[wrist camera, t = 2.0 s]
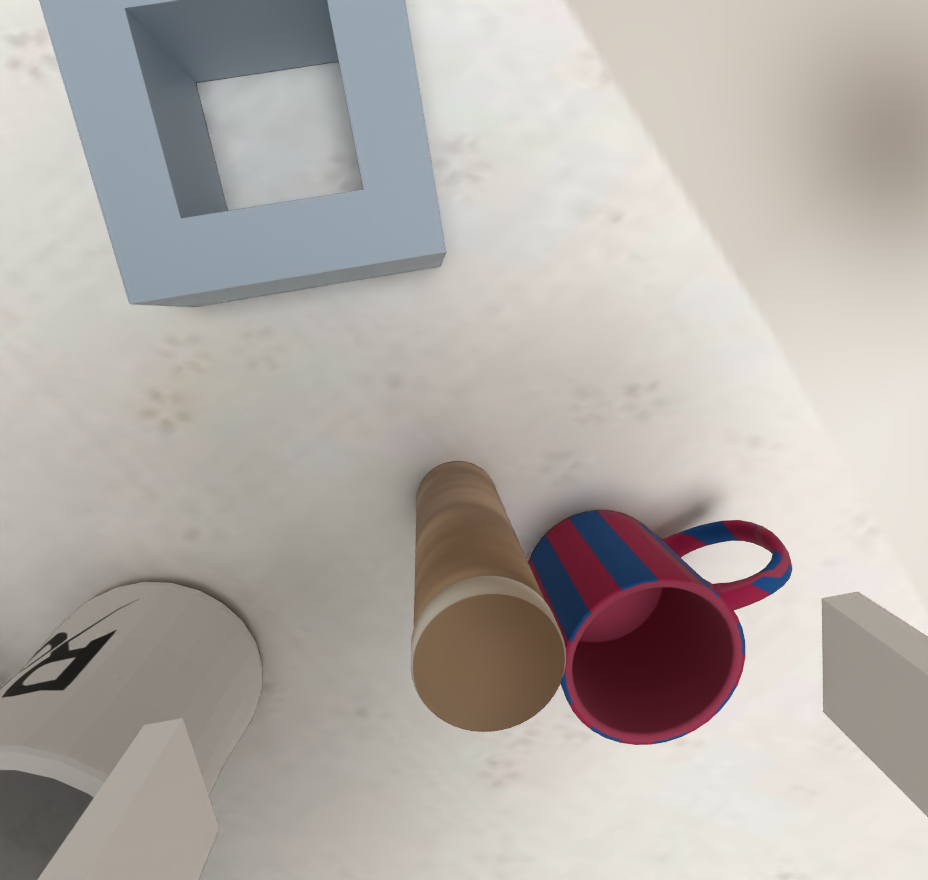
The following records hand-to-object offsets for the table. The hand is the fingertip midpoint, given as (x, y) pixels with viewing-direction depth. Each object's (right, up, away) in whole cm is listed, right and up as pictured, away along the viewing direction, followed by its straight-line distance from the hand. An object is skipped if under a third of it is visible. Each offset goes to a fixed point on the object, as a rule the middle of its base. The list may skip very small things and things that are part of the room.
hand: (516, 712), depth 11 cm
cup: (+7, 0, +15) cm, 16 cm away
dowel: (-1, +3, +13) cm, 14 cm away
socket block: (-8, +17, +10) cm, 21 cm away
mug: (-16, -6, +14) cm, 22 cm away
